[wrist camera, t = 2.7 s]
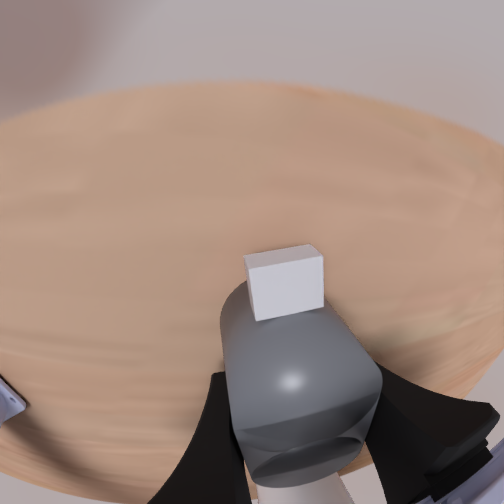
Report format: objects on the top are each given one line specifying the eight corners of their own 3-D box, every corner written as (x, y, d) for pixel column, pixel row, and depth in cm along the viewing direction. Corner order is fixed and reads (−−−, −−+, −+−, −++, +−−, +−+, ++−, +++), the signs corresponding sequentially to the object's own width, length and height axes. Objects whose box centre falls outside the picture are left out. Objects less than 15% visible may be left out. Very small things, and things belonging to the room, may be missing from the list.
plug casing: (202, 241, 10) (200, 321, 5) (321, 222, 10) (403, 277, 6) (242, 416, 13) (258, 494, 9) (320, 398, 14) (352, 468, 9)
